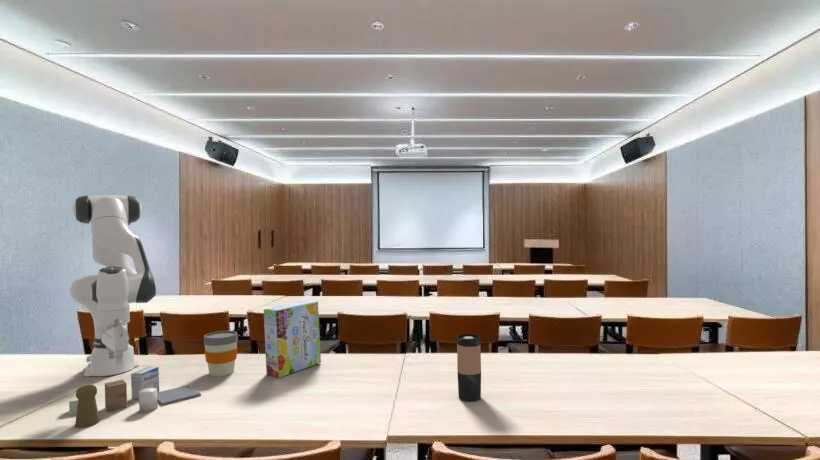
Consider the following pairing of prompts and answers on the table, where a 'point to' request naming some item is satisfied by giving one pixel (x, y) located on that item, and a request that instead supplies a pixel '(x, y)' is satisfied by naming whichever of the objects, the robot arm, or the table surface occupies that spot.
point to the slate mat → (176, 395)
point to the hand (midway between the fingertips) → (114, 361)
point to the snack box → (291, 337)
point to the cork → (86, 407)
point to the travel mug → (469, 367)
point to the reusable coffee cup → (221, 352)
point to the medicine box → (144, 380)
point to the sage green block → (73, 405)
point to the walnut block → (115, 395)
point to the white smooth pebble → (148, 400)
